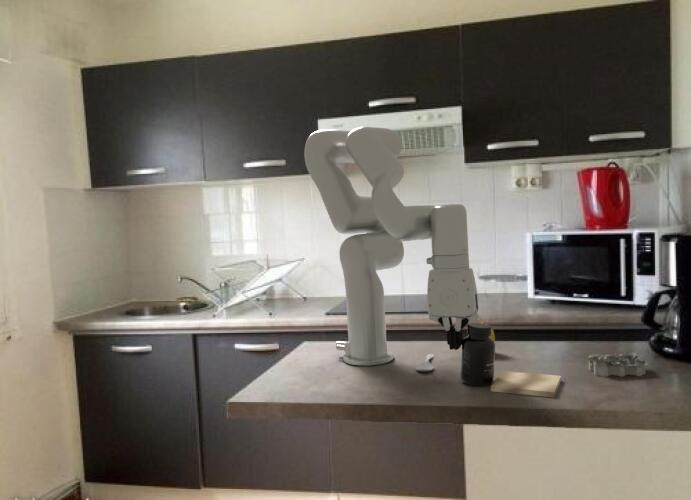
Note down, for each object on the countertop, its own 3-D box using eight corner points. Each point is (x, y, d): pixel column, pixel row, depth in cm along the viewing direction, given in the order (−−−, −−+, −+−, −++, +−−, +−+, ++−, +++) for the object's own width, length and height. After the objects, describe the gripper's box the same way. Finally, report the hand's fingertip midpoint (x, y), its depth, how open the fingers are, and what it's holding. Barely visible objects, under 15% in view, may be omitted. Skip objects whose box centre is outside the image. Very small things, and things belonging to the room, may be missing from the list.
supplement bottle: (494, 388, 113) (497, 330, 112) (460, 385, 115) (462, 328, 113) (492, 377, 120) (494, 322, 119) (460, 374, 121) (462, 320, 120)
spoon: (413, 376, 126) (413, 368, 125) (424, 352, 145) (424, 346, 145) (432, 376, 124) (432, 369, 124) (440, 352, 144) (440, 346, 144)
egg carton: (594, 378, 117) (594, 359, 116) (585, 368, 124) (585, 350, 124) (649, 378, 115) (649, 358, 114) (637, 367, 122) (636, 349, 122)
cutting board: (490, 391, 111) (490, 386, 111) (502, 375, 121) (502, 371, 121) (554, 397, 106) (554, 392, 106) (561, 380, 115) (561, 375, 115)
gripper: (411, 265, 118) (416, 350, 119) (481, 264, 111) (486, 354, 112) (423, 261, 124) (427, 342, 126) (490, 260, 118) (494, 346, 119)
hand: (455, 348), depth 119 cm, fingers closed
